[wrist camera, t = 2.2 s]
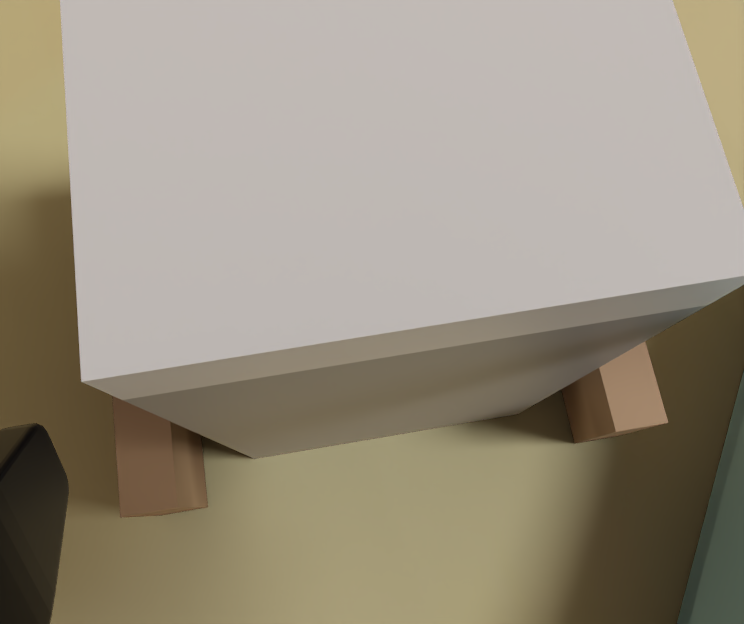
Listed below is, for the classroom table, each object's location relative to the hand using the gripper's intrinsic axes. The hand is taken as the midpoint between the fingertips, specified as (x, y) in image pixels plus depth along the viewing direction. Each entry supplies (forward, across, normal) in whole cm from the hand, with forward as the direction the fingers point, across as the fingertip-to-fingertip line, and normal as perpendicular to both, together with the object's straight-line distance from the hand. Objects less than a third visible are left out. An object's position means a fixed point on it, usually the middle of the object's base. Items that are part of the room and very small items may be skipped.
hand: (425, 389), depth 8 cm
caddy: (+9, 0, +5) cm, 10 cm away
